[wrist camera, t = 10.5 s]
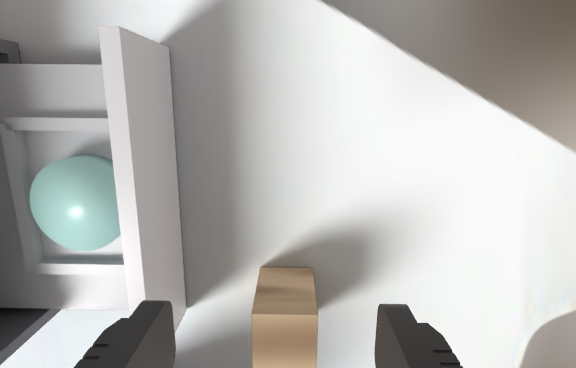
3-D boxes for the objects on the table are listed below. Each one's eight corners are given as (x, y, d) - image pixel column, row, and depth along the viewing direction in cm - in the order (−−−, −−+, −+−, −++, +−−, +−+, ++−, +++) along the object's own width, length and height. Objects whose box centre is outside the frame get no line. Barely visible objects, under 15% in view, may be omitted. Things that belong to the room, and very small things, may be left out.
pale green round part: (142, 240, 24) (130, 251, 22) (56, 239, 24) (37, 250, 22) (134, 154, 23) (121, 159, 21) (42, 153, 23) (22, 158, 21)
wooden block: (311, 313, 28) (316, 371, 22) (260, 313, 28) (252, 370, 22) (312, 268, 27) (318, 315, 21) (260, 267, 27) (251, 314, 21)
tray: (186, 310, 28) (152, 376, 21) (-8, 307, 28) (-102, 372, 21) (168, 47, 23) (118, 26, 16) (-65, 44, 23) (-208, 23, 16)
